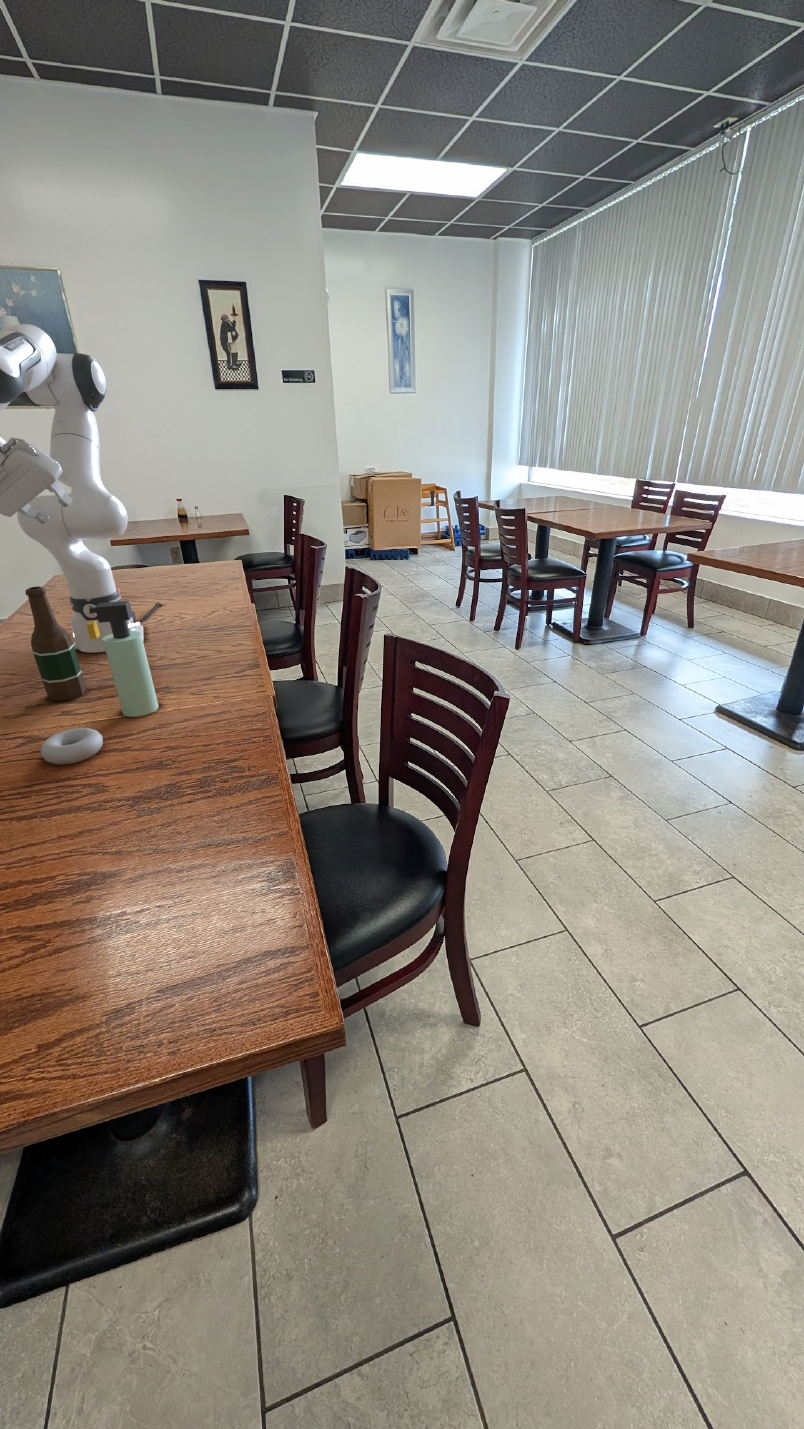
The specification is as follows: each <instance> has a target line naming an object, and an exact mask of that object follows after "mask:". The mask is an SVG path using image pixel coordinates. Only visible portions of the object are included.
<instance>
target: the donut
mask: <svg viewBox="0 0 804 1429" xmlns="http://www.w3.org/2000/svg"><path fill="white" fill-rule="evenodd" d="M103 740H104V739H103V736H102V734H101V733H100V732H98V731H97V730H96V729H93V728H89V727H77V728H71V729H65V730H62V731H59V732H58V733H55V734H53V735H51V736H50V737H48V738H47V739H45V741H44V742H43V743H42V745H41V748H40V755H41V757H42V758H43V759H44V760H45V761H46V762H47V763H50V764H53V765H62V766H63V765H72V764H76V763H80V762H82V761H86V760H87V759H89V758H92V757H94V756H95V755H96V754H97V753H98V752H99V751H100V750H101V749H102V747H103V745H104V741H103Z"/></svg>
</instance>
